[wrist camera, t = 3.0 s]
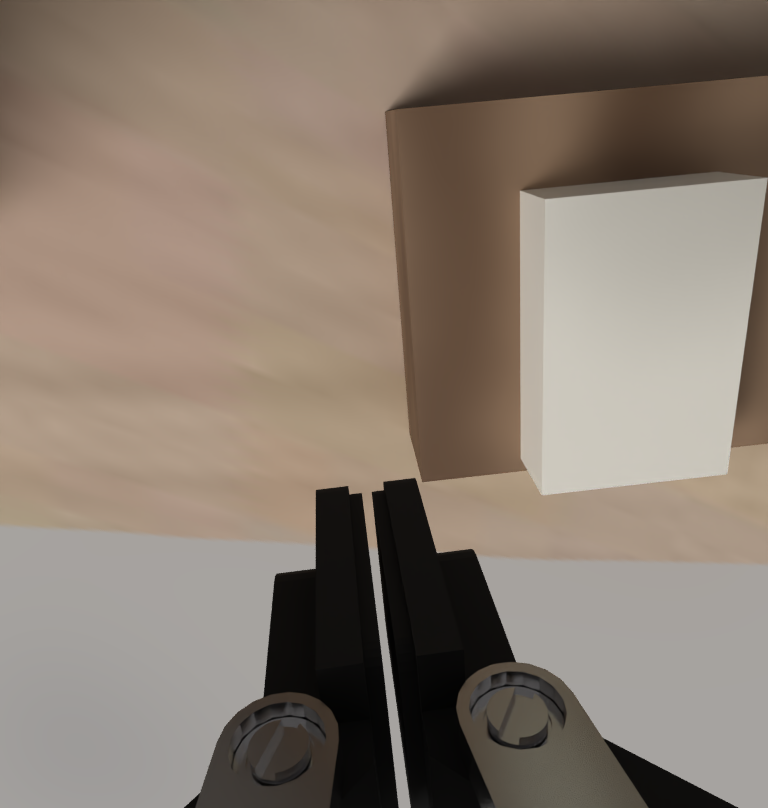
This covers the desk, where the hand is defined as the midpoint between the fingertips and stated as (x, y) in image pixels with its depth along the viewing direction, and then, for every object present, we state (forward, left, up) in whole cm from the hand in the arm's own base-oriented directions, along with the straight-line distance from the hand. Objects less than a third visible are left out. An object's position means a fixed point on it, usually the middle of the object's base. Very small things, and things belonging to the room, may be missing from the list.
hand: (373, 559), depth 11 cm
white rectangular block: (-8, 0, -10) cm, 13 cm away
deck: (-10, -1, -15) cm, 18 cm away
